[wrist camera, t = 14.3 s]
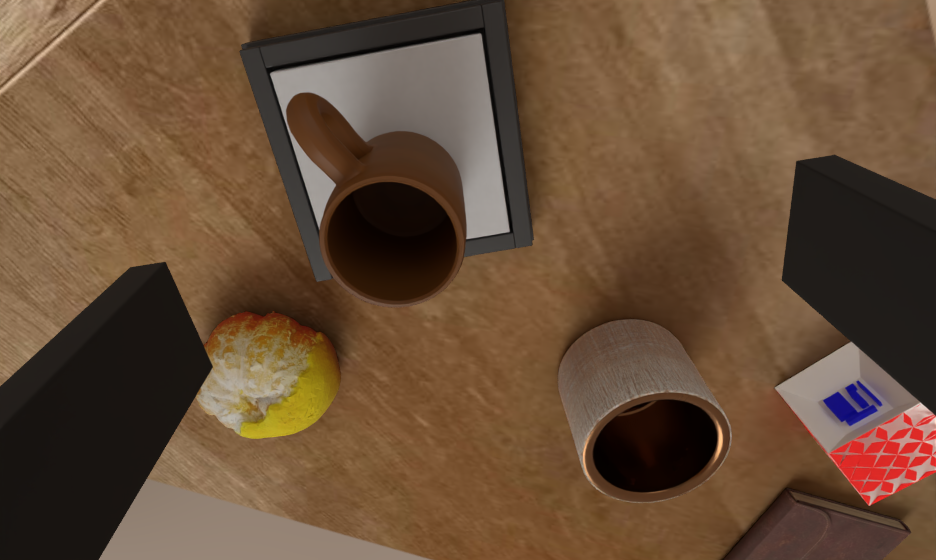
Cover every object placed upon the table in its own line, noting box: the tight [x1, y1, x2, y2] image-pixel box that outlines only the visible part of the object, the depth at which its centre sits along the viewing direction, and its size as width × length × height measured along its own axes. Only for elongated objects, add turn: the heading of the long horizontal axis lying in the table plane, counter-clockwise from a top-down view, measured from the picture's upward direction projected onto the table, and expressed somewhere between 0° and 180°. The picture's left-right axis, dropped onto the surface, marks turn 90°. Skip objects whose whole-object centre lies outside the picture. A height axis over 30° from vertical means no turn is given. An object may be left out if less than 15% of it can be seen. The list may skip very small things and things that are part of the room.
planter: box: [558, 319, 732, 503], centre depth 44 cm, size 11×11×10 cm
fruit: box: [196, 311, 341, 439], centre depth 44 cm, size 11×10×8 cm
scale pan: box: [270, 32, 510, 239], centre depth 36 cm, size 13×13×2 cm
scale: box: [240, 0, 534, 282], centre depth 37 cm, size 16×16×3 cm
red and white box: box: [775, 342, 936, 506], centre depth 47 cm, size 8×8×8 cm
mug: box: [286, 92, 467, 307], centre depth 32 cm, size 12×8×9 cm, turn 33°
